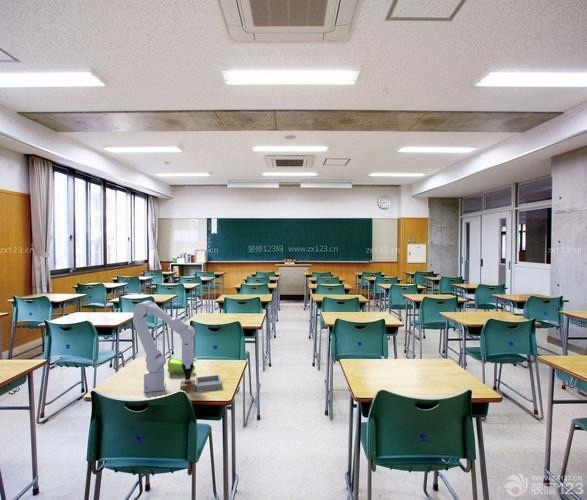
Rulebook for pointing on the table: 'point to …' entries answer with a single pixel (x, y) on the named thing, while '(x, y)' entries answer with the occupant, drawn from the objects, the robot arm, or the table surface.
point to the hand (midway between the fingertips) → (187, 378)
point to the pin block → (187, 385)
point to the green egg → (175, 366)
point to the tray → (208, 383)
